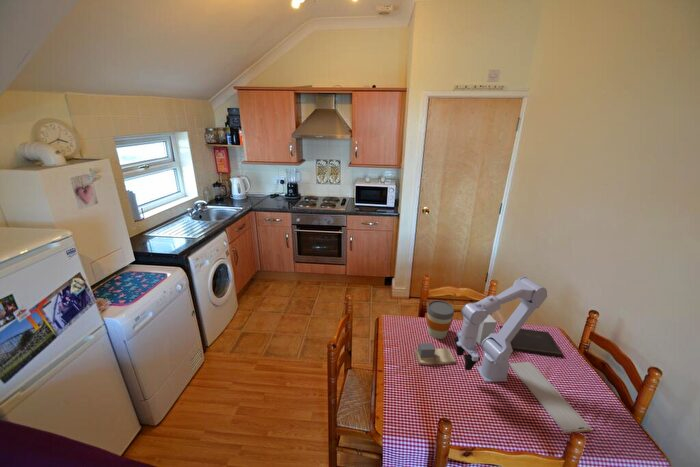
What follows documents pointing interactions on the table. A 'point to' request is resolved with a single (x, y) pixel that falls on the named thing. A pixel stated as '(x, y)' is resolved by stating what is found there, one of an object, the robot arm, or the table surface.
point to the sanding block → (426, 351)
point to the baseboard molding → (550, 398)
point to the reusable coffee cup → (439, 318)
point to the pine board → (437, 357)
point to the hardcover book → (535, 343)
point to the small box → (486, 329)
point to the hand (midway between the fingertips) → (463, 362)
